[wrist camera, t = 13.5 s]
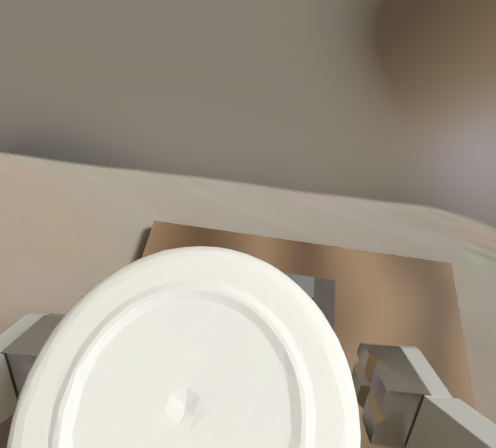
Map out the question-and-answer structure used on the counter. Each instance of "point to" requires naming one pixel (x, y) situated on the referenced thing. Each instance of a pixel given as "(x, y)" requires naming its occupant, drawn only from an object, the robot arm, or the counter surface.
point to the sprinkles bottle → (190, 362)
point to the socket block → (358, 296)
